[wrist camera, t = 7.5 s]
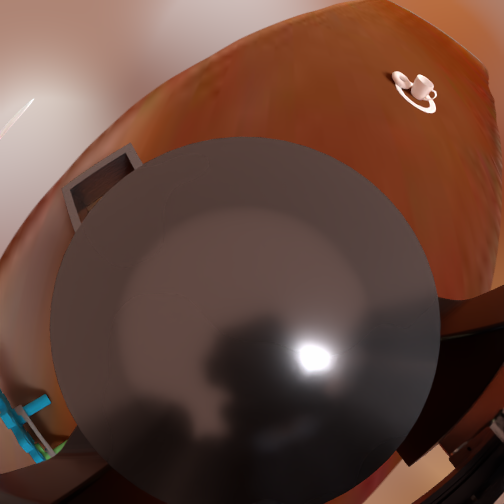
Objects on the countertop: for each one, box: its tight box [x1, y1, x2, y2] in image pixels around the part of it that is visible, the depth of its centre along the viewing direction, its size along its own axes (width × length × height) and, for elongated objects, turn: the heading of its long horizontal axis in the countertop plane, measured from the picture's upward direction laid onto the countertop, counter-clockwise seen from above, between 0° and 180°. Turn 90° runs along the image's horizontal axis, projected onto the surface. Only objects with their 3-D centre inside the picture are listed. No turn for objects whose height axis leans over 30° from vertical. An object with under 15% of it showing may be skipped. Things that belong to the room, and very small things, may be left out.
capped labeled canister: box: [50, 137, 441, 504], centre depth 8 cm, size 4×4×13 cm
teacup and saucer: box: [392, 71, 437, 113], centre depth 31 cm, size 9×8×4 cm
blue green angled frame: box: [0, 389, 67, 463], centre depth 14 cm, size 11×6×10 cm
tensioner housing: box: [62, 143, 143, 232], centre depth 21 cm, size 8×8×4 cm
